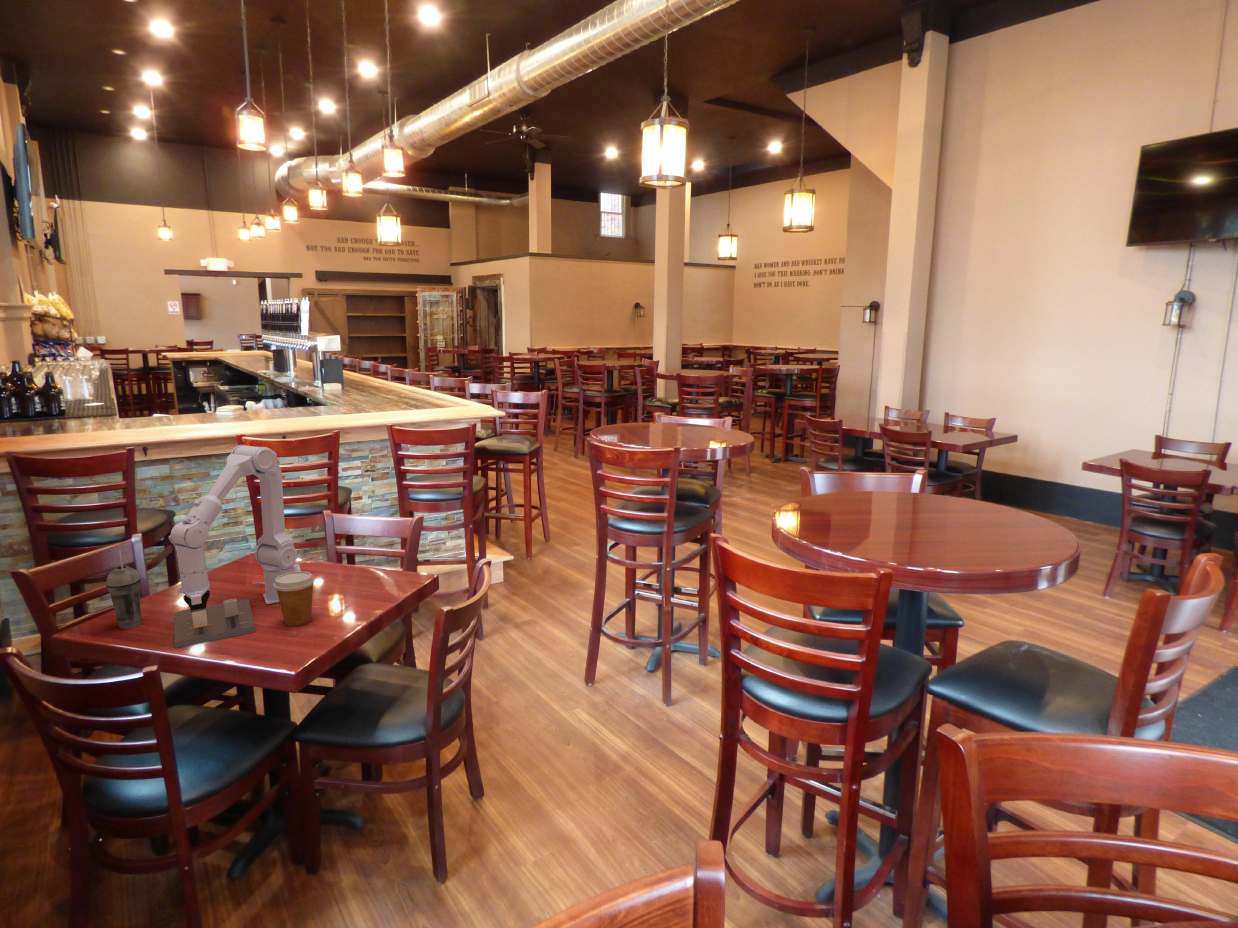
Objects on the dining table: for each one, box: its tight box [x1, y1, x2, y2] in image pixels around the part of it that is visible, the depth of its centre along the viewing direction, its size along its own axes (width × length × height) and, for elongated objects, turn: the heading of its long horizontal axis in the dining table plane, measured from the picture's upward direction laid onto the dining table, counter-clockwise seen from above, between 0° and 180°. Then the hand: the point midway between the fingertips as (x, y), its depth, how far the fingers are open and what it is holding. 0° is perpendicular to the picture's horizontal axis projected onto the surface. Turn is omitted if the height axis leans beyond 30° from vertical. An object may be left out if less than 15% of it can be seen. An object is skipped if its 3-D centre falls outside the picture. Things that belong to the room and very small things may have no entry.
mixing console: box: [174, 598, 256, 649], centre depth 179 cm, size 17×21×2 cm
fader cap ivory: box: [192, 608, 208, 628], centre depth 174 cm, size 3×2×4 cm, turn 121°
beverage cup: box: [105, 548, 142, 630], centre depth 177 cm, size 7×7×20 cm
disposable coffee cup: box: [274, 570, 316, 627], centre depth 180 cm, size 10×10×12 cm
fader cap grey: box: [222, 598, 239, 618], centre depth 181 cm, size 3×2×4 cm, turn 121°
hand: (200, 621), depth 176 cm, fingers closed, pressing on fader cap ivory
